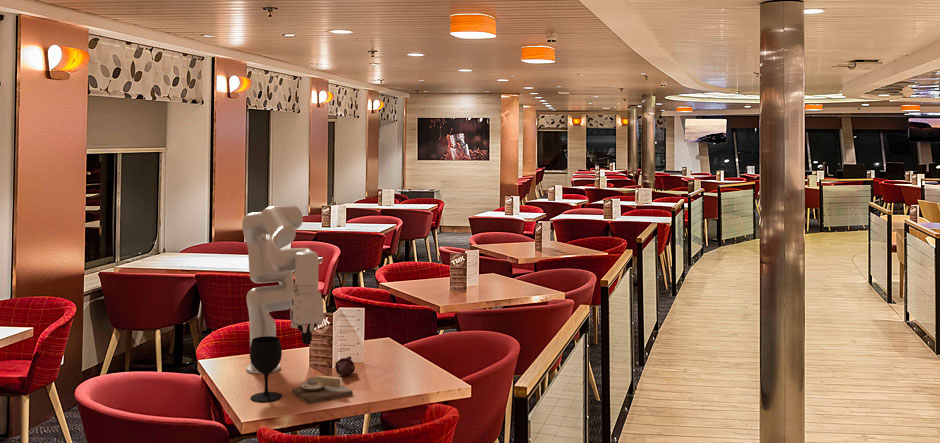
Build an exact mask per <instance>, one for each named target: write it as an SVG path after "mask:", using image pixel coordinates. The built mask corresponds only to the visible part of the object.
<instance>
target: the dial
mask: <svg viewBox="0 0 940 443" xmlns="http://www.w3.org/2000/svg"><path fill="white" fill-rule="evenodd" d="M342 385H343V377H340V376H339V377H338V376H328V375H327V376H326V375H319V374H317V375H314V376H312V377H308V378H307V379H306V380H304V381H302V382H301V383H300V387H301V389H302V390H306V391H317V390H321V389H324V388H325V386H328V387H337V388H340V387H342Z"/></svg>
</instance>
